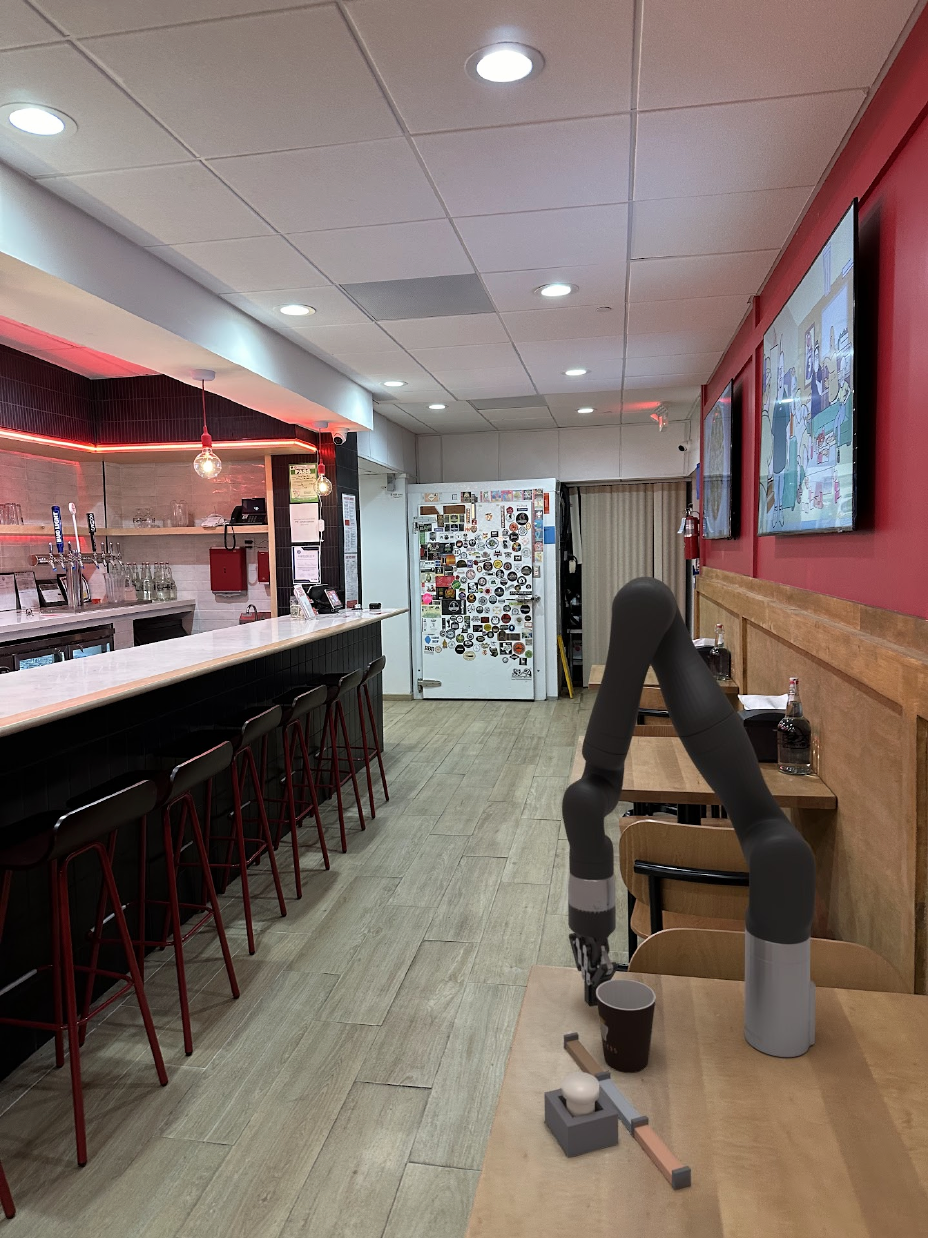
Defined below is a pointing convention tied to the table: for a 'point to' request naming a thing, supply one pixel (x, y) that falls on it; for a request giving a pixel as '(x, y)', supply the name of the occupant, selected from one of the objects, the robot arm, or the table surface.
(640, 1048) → the coffee mug
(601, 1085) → the slate segment
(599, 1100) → the dome housing
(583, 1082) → the dome plunger
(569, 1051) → the walnut segment
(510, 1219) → the table surface
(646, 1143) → the terracotta segment
